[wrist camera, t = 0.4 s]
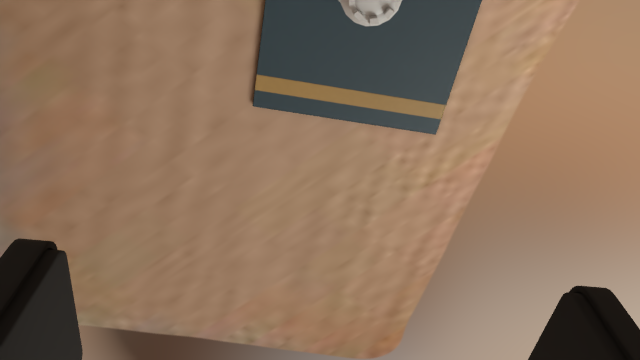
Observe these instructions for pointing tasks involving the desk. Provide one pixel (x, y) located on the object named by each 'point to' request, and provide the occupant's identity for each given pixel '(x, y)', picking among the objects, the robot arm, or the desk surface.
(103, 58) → the desk surface
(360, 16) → the rook chess piece
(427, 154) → the desk surface
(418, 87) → the placemat
